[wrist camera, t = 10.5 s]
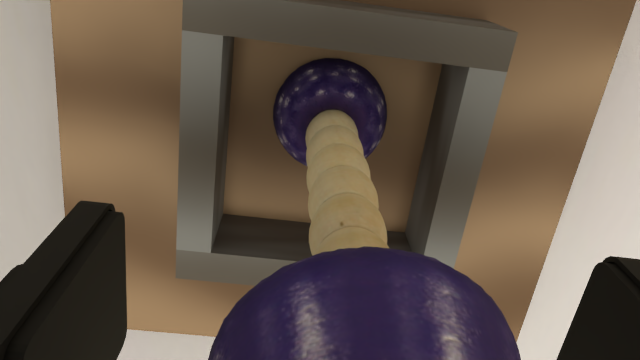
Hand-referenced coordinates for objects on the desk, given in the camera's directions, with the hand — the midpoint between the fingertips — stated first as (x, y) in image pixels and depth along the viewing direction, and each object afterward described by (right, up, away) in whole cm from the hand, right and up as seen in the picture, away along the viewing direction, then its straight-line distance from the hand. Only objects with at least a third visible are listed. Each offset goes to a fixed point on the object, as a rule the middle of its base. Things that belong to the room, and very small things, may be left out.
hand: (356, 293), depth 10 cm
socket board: (0, +5, +11) cm, 12 cm away
